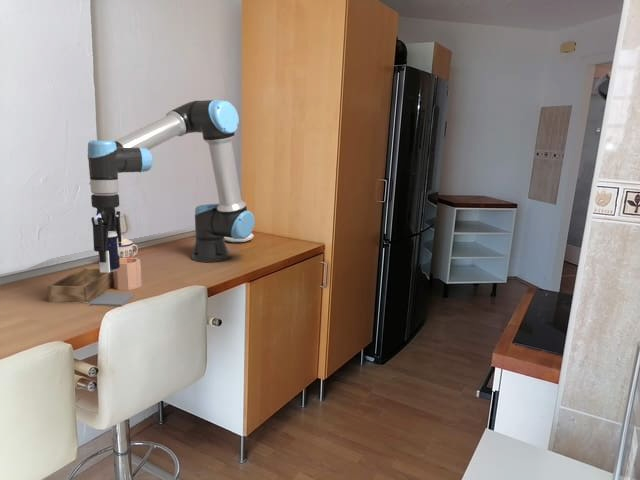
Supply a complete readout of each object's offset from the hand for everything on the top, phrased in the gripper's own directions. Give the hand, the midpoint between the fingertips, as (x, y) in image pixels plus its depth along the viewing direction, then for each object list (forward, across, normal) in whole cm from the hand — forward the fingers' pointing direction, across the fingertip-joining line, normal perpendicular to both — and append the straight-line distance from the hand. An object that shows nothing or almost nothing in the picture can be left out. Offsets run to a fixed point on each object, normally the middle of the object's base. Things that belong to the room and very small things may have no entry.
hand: (109, 269), depth 142 cm
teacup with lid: (+10, -42, -14) cm, 45 cm away
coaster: (+10, 0, 0) cm, 10 cm away
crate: (+10, -7, -12) cm, 17 cm away
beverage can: (+1, 0, 0) cm, 1 cm away
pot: (+10, -14, -1) cm, 17 cm away
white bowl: (+10, -90, +22) cm, 93 cm away
